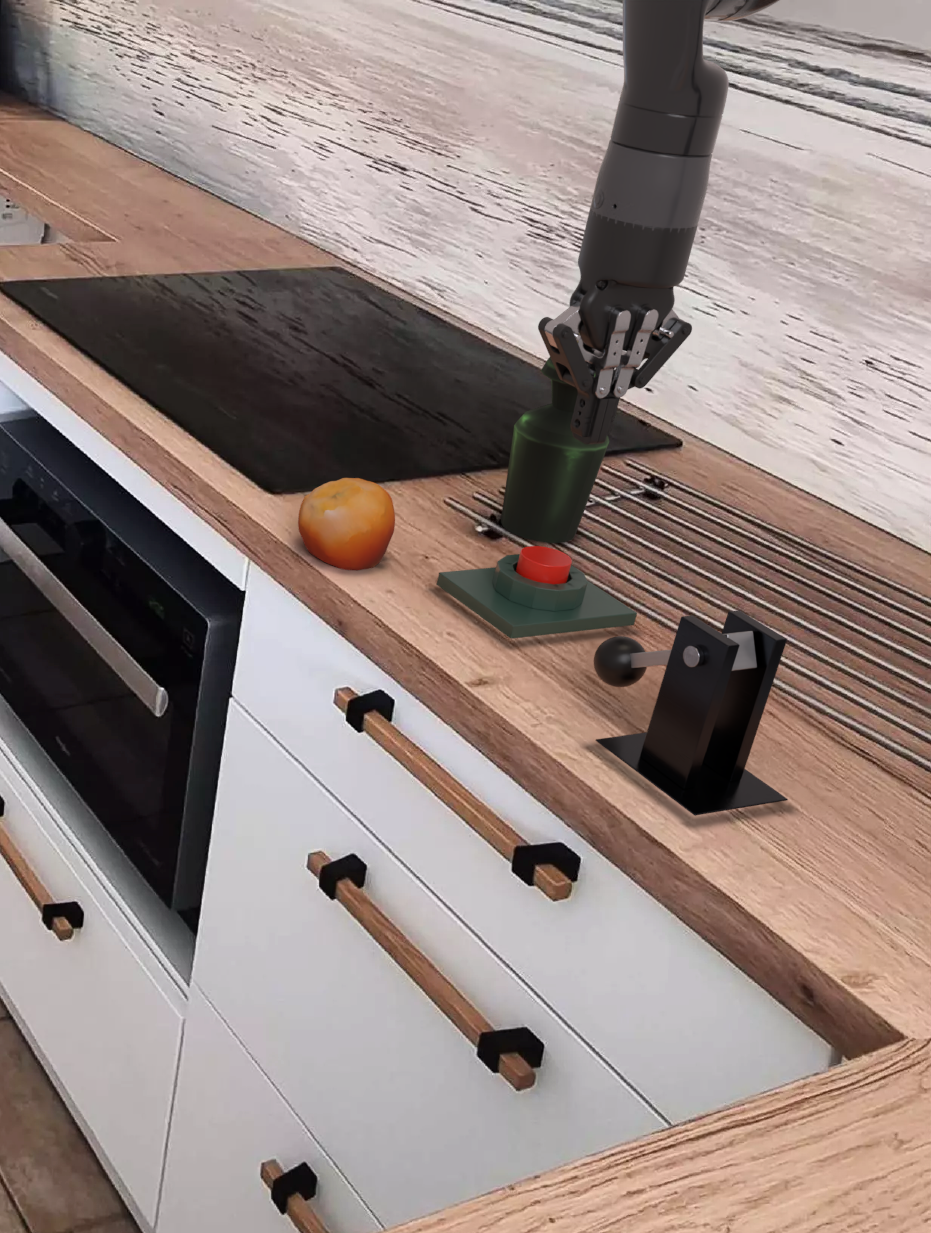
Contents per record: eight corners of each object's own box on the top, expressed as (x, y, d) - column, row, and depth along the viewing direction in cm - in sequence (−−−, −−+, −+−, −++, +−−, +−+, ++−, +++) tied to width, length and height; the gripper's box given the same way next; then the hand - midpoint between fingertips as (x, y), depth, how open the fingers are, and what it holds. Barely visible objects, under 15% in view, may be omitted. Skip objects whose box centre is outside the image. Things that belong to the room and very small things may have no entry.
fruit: (428, 554, 149) (405, 482, 144) (355, 609, 147) (330, 539, 142) (367, 518, 155) (343, 448, 150) (297, 570, 153) (271, 501, 148)
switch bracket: (590, 754, 123) (634, 599, 118) (680, 741, 126) (727, 590, 121) (689, 830, 115) (741, 668, 110) (783, 814, 118) (838, 656, 113)
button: (545, 563, 144) (550, 543, 143) (577, 584, 140) (582, 564, 140) (505, 567, 142) (510, 547, 141) (536, 588, 139) (541, 568, 138)
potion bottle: (596, 535, 161) (648, 341, 152) (562, 559, 155) (613, 358, 146) (512, 508, 165) (558, 318, 156) (475, 530, 159) (521, 334, 150)
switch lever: (585, 690, 126) (579, 640, 126) (625, 685, 128) (620, 635, 128) (724, 681, 114) (717, 625, 114) (766, 675, 115) (760, 620, 115)
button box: (552, 585, 149) (563, 541, 147) (630, 637, 141) (643, 591, 139) (433, 596, 145) (443, 551, 143) (507, 651, 137) (519, 604, 135)
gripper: (605, 224, 122) (548, 463, 130) (752, 223, 127) (689, 453, 135) (537, 198, 128) (487, 428, 136) (680, 198, 133) (624, 420, 141)
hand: (588, 440), depth 135 cm, fingers closed
